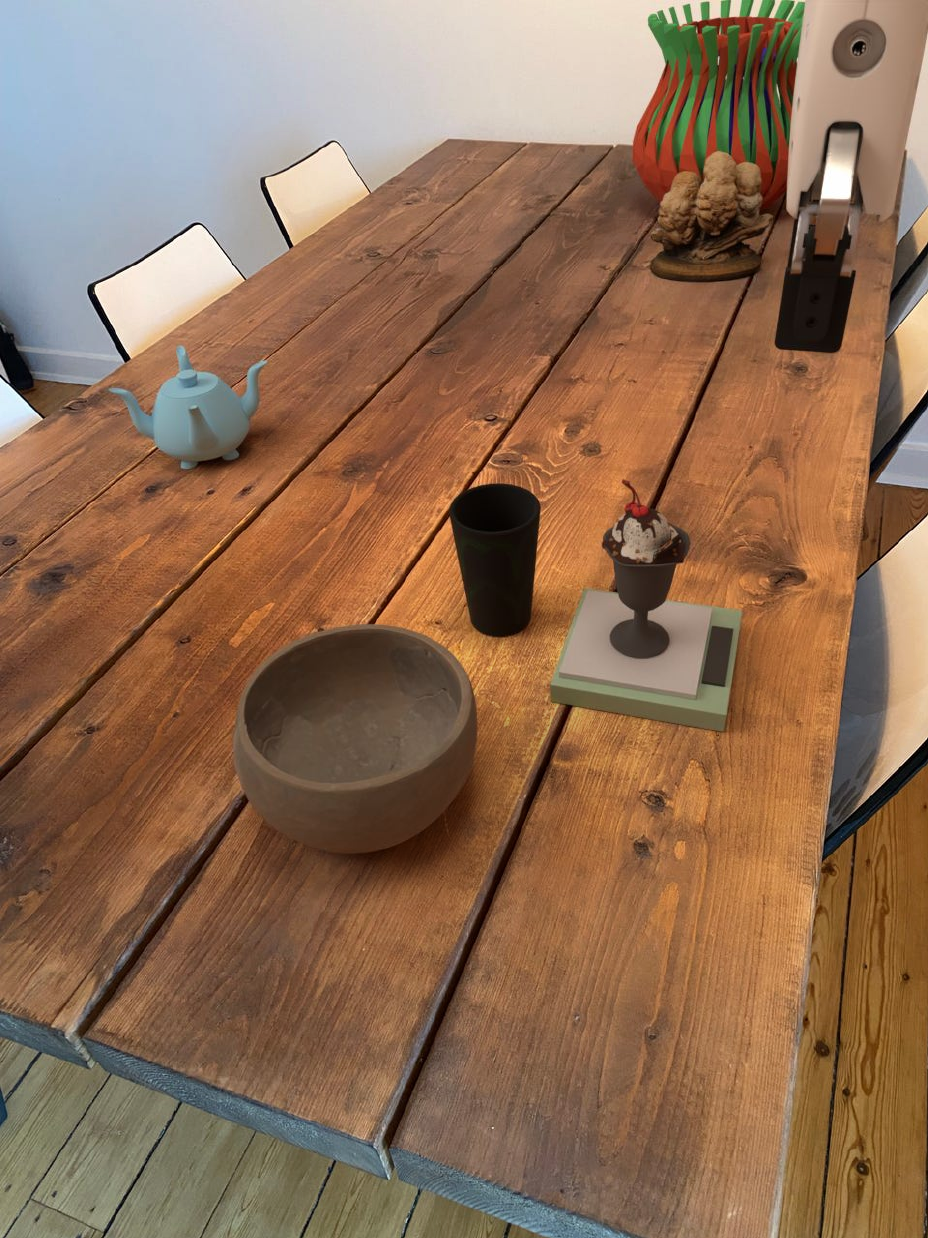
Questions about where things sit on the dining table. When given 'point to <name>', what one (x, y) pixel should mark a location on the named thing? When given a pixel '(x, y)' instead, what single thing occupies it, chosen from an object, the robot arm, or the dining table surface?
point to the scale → (650, 663)
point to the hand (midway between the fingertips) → (810, 310)
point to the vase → (721, 95)
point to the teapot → (197, 414)
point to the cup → (497, 554)
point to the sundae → (643, 574)
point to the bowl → (355, 737)
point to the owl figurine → (710, 223)
